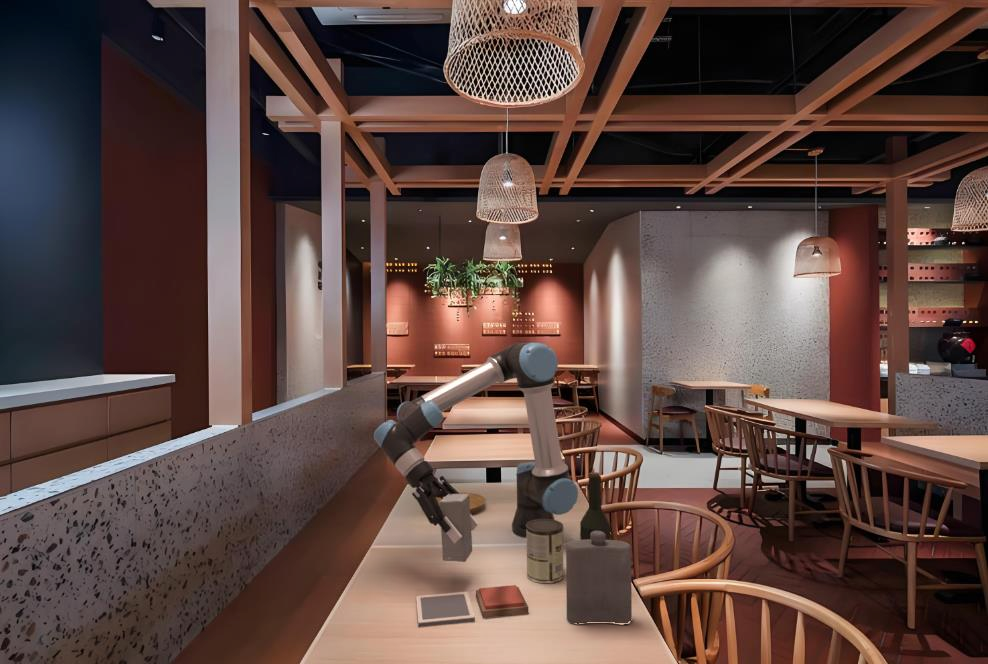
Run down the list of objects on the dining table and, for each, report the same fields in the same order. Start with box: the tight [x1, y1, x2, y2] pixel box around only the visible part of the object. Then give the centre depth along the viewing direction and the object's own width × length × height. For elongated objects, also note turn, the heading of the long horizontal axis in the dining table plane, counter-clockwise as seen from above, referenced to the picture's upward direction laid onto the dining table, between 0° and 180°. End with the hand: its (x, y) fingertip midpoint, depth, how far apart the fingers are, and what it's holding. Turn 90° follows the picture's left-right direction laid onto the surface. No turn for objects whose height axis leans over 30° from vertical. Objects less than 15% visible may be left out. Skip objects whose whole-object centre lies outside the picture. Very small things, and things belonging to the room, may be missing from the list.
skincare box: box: [440, 494, 473, 563], centre depth 147 cm, size 8×7×16 cm
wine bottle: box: [579, 471, 612, 540], centre depth 143 cm, size 8×8×30 cm
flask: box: [565, 531, 633, 624], centre depth 128 cm, size 15×6×20 cm, turn 88°
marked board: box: [415, 591, 476, 628], centre depth 132 cm, size 13×13×1 cm
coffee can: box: [525, 519, 565, 584], centre depth 151 cm, size 10×10×14 cm
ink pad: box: [475, 584, 529, 619], centre depth 134 cm, size 11×11×2 cm
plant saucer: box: [436, 491, 487, 515], centre depth 212 cm, size 24×24×3 cm
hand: (467, 533), depth 145 cm, fingers closed on skincare box, 9 cm apart
